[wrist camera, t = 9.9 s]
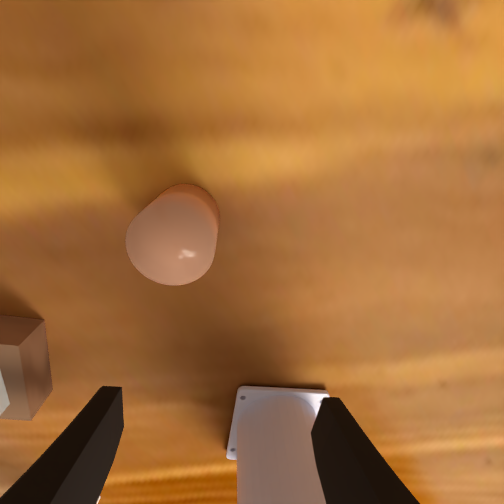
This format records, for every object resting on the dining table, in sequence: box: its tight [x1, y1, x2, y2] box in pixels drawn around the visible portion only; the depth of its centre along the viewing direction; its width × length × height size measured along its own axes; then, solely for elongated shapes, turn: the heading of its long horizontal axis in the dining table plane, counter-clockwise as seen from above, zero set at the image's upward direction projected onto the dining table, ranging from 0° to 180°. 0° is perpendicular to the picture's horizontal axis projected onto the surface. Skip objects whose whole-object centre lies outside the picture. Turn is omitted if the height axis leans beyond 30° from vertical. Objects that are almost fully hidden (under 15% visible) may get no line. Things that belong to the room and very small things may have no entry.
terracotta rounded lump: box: [125, 184, 220, 285], centre depth 15 cm, size 4×4×5 cm
